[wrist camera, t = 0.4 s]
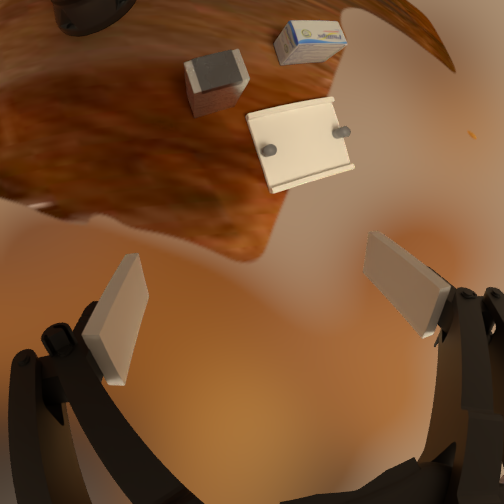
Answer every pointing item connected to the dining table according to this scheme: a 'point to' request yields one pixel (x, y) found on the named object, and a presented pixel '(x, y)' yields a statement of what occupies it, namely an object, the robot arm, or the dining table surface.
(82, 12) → the robot arm
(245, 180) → the dining table surface
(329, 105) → the tray
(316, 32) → the medicine box
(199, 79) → the block
